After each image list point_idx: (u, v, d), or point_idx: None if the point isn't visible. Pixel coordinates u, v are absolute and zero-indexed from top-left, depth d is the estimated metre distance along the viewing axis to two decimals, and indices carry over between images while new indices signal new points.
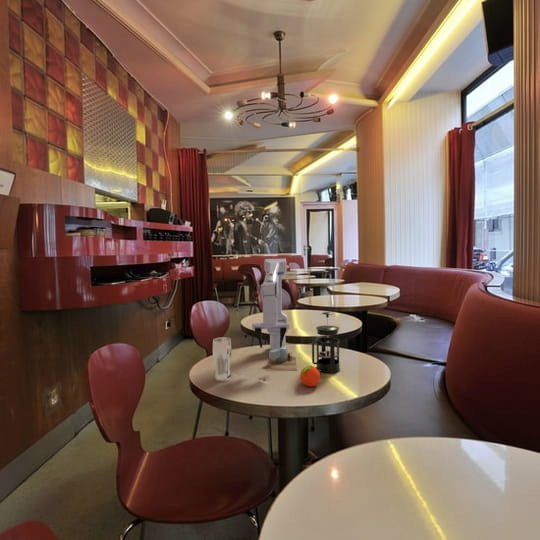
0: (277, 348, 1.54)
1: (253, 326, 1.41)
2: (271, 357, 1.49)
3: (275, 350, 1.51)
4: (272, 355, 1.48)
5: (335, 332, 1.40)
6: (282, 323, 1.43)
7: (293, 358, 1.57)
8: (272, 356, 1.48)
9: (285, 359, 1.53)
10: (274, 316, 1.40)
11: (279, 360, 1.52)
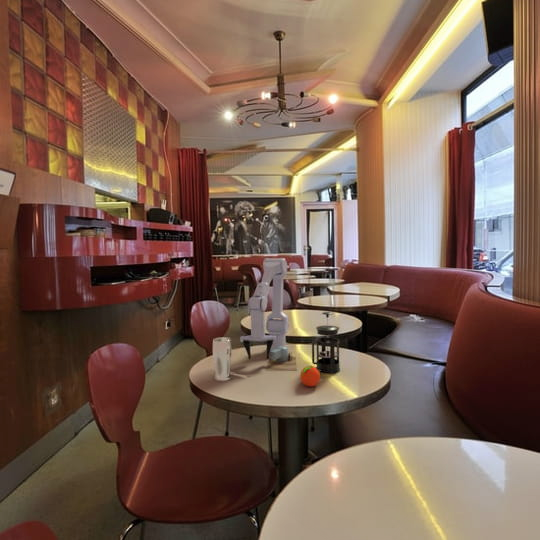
0: (278, 348, 1.54)
1: (241, 339, 1.48)
2: (272, 357, 1.49)
3: (276, 350, 1.51)
4: (274, 355, 1.48)
5: (335, 332, 1.40)
6: (269, 336, 1.50)
7: (293, 358, 1.57)
8: (273, 356, 1.49)
9: (286, 359, 1.53)
10: (261, 329, 1.46)
11: (280, 360, 1.52)
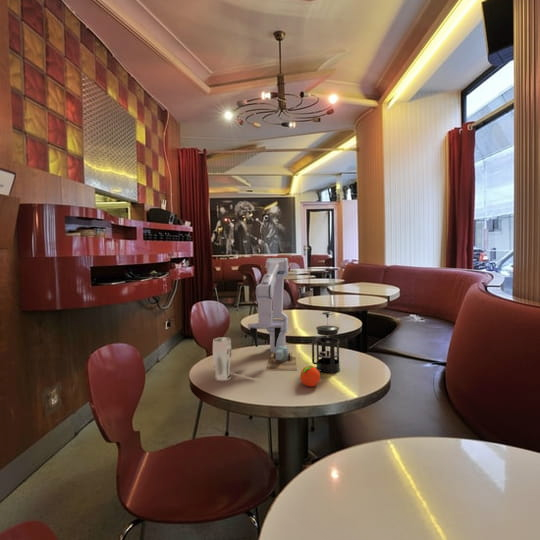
0: (279, 348, 1.53)
1: (249, 326, 1.48)
2: (278, 357, 1.48)
3: (280, 350, 1.50)
4: (280, 355, 1.48)
5: (335, 332, 1.40)
6: (277, 323, 1.49)
7: (293, 358, 1.57)
8: (279, 357, 1.48)
9: (287, 358, 1.54)
10: (269, 317, 1.46)
11: (282, 360, 1.53)
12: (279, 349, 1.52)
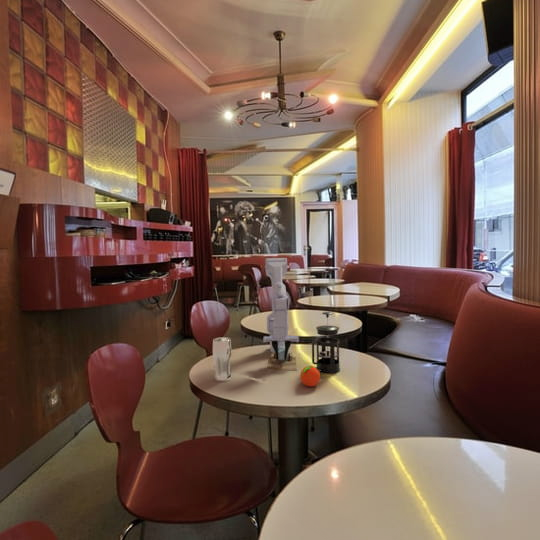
0: (280, 348, 1.53)
1: (264, 339, 1.48)
2: (281, 357, 1.48)
3: (282, 350, 1.51)
4: (282, 355, 1.48)
5: (335, 332, 1.40)
6: (292, 336, 1.49)
7: (293, 358, 1.57)
8: (282, 356, 1.48)
9: (288, 358, 1.54)
10: (285, 330, 1.46)
11: (283, 360, 1.53)
12: (280, 349, 1.52)
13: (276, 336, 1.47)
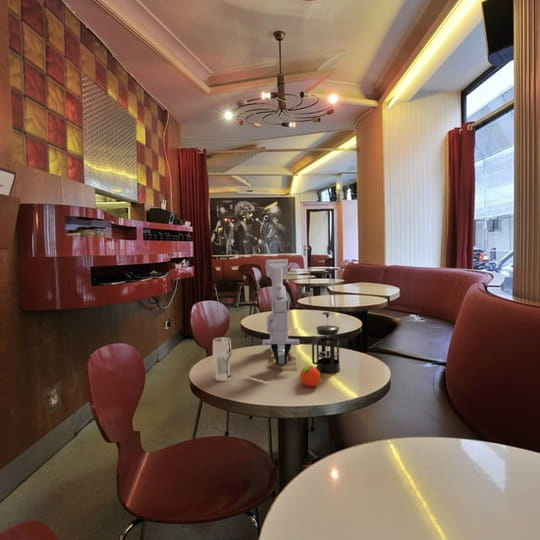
0: (279, 351, 1.49)
1: (264, 342, 1.43)
2: (281, 361, 1.44)
3: (281, 353, 1.46)
4: (283, 358, 1.44)
5: (335, 332, 1.40)
6: (292, 339, 1.44)
7: (293, 358, 1.57)
8: (282, 360, 1.44)
9: (287, 361, 1.50)
10: (285, 333, 1.41)
11: (283, 363, 1.49)
12: (280, 352, 1.48)
13: (276, 339, 1.42)
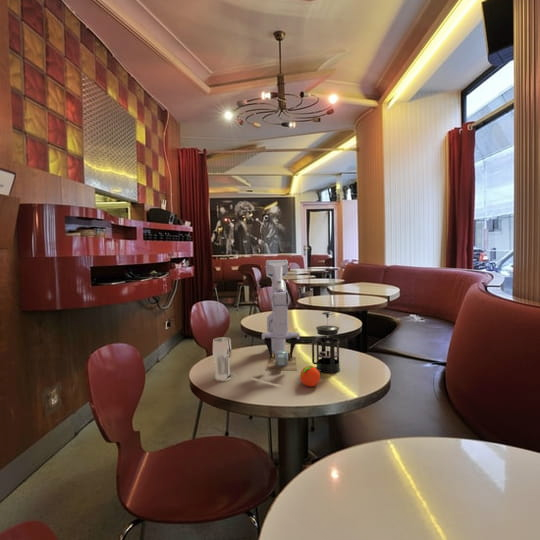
0: (279, 353, 1.47)
1: (263, 336, 1.40)
2: (281, 363, 1.41)
3: (281, 355, 1.44)
4: (282, 360, 1.41)
5: (335, 332, 1.40)
6: (292, 333, 1.41)
7: (293, 358, 1.57)
8: (282, 362, 1.41)
9: (287, 363, 1.48)
10: (284, 326, 1.38)
11: (283, 365, 1.46)
12: (279, 354, 1.45)
13: (275, 333, 1.38)
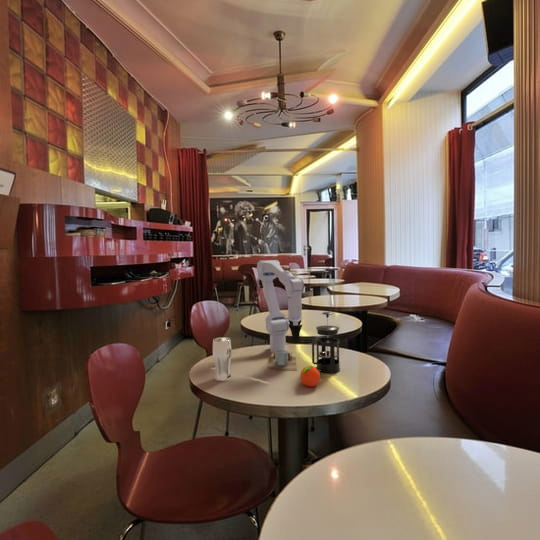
0: (279, 353, 1.47)
1: None
2: (281, 363, 1.41)
3: (281, 355, 1.44)
4: (282, 360, 1.41)
5: (335, 332, 1.40)
6: (297, 319, 1.50)
7: (293, 358, 1.57)
8: (282, 362, 1.41)
9: (287, 363, 1.48)
10: (289, 310, 1.52)
11: (283, 365, 1.46)
12: (279, 354, 1.45)
13: None
